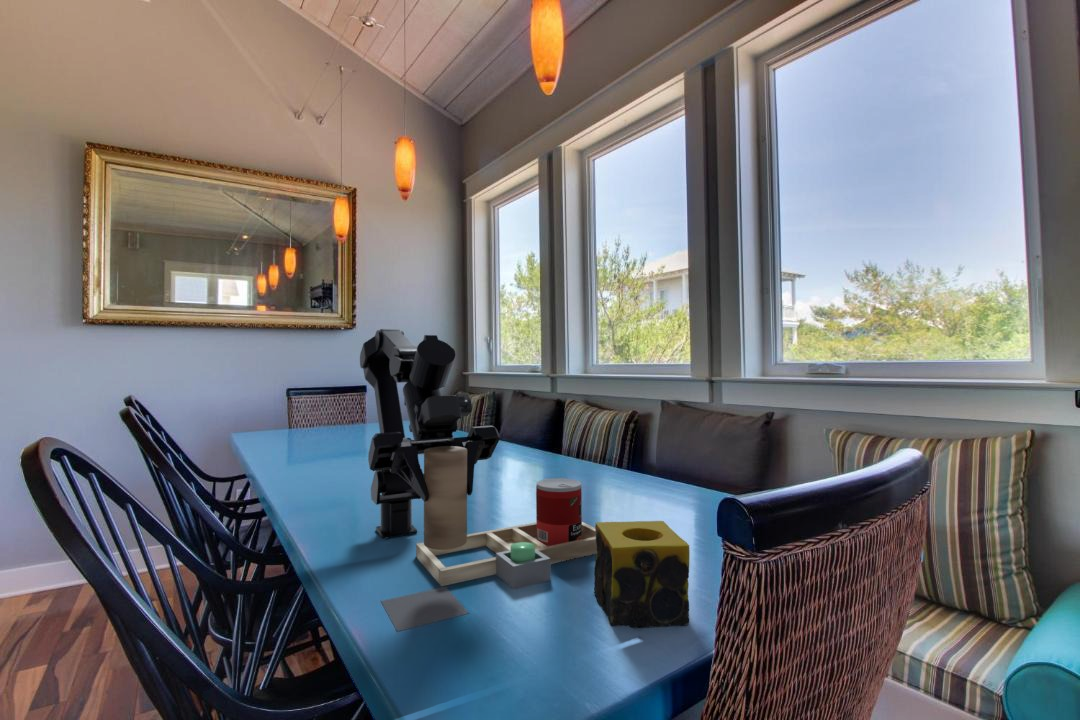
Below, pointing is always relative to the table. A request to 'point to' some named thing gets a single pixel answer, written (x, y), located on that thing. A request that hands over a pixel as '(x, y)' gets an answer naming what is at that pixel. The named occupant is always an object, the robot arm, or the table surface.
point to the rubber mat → (423, 608)
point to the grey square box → (523, 569)
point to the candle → (641, 574)
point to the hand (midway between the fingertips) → (448, 496)
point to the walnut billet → (445, 497)
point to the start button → (522, 552)
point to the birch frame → (500, 543)
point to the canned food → (558, 511)
